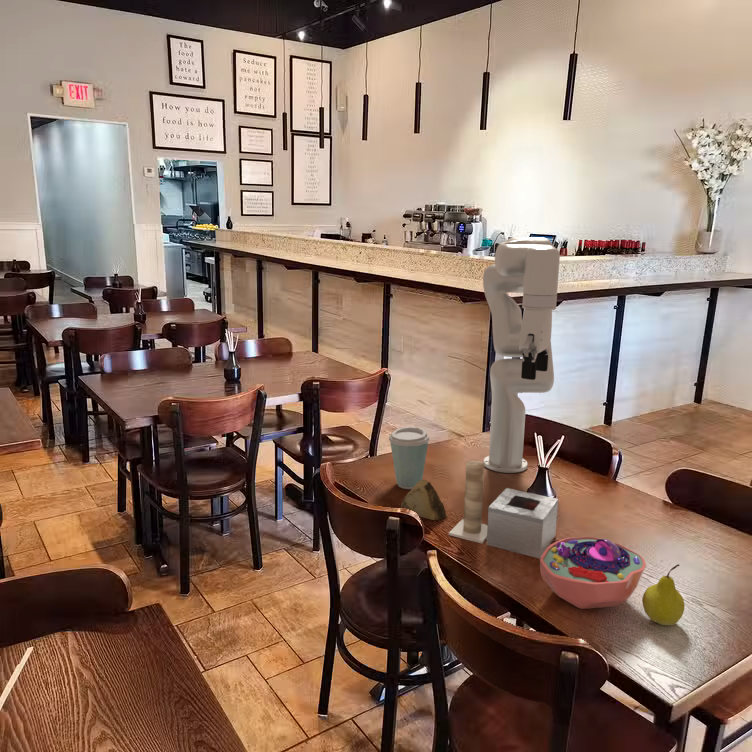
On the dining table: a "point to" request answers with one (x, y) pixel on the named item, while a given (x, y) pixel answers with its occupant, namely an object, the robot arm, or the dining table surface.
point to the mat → (477, 537)
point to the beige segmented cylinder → (473, 496)
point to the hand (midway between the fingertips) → (534, 374)
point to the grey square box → (522, 522)
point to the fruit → (663, 601)
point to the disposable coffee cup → (409, 455)
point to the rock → (424, 501)
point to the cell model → (591, 571)
